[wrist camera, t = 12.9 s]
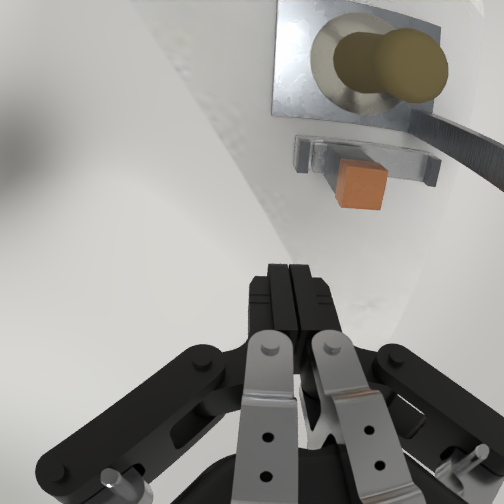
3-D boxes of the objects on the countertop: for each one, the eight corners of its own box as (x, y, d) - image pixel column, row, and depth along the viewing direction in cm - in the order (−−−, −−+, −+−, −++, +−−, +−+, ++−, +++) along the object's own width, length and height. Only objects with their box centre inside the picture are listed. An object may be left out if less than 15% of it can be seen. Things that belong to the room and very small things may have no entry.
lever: (311, 171, 30) (329, 206, 23) (314, 139, 28) (335, 165, 22) (360, 175, 30) (390, 211, 23) (365, 144, 28) (399, 172, 22)
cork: (334, 26, 22) (380, 8, 13) (397, 39, 22) (465, 36, 13) (330, 89, 26) (374, 104, 16) (392, 98, 26) (456, 122, 16)
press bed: (271, 113, 29) (297, 173, 14) (277, -6, 22) (312, -85, 7) (421, 133, 29) (538, 207, 14) (433, 27, 23) (566, 31, 8)
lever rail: (293, 163, 31) (296, 172, 29) (295, 135, 30) (299, 141, 28) (424, 177, 32) (435, 186, 30) (429, 152, 30) (441, 160, 28)
